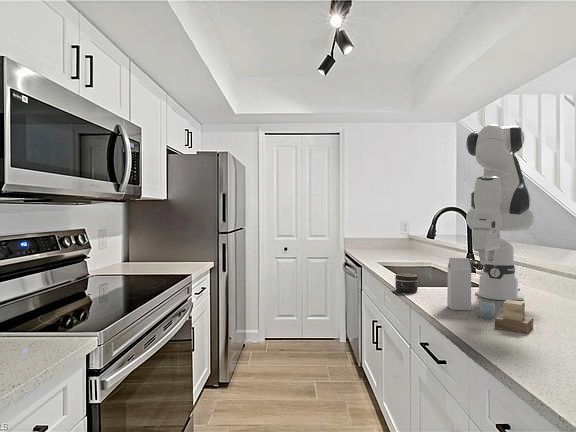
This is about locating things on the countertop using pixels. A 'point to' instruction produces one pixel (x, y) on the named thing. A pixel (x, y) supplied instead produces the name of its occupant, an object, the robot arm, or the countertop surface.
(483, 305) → the ceramic cylinder
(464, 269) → the milk carton
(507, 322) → the walnut pedestal
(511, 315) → the oak cube
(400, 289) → the jar
